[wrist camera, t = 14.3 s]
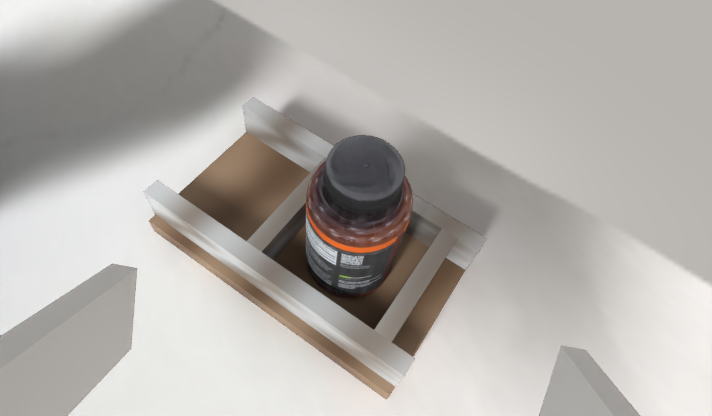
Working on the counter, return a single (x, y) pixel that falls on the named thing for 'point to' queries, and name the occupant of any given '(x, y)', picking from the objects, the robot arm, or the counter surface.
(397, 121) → the counter surface
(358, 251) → the supplement bottle
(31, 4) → the counter surface
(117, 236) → the counter surface
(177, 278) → the counter surface
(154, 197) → the wooden divided tray
